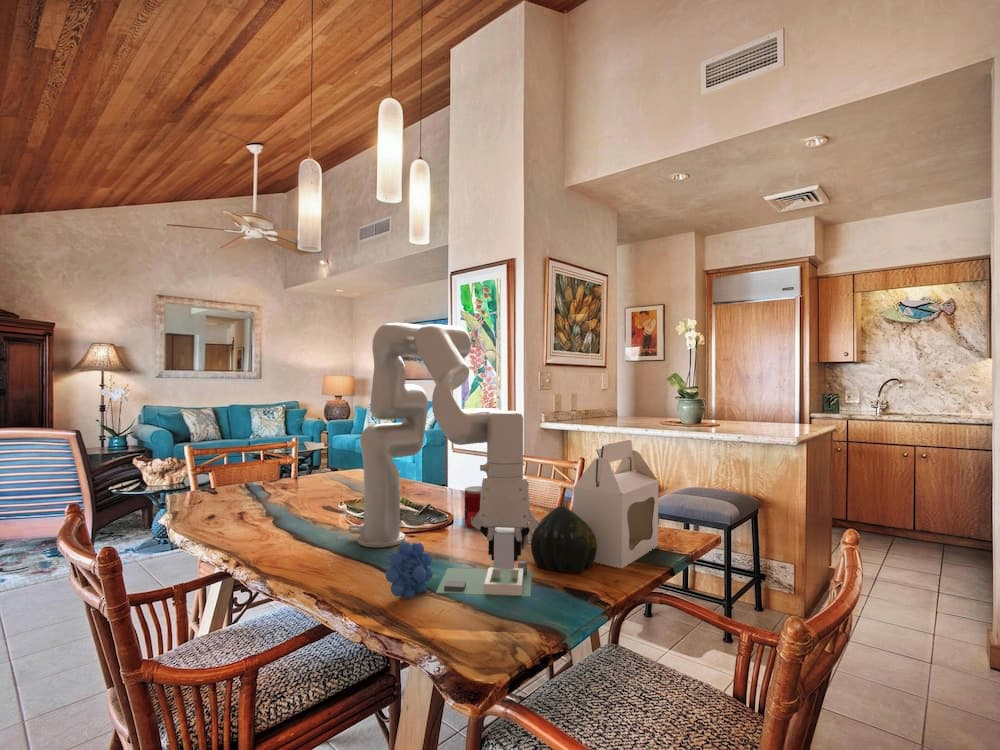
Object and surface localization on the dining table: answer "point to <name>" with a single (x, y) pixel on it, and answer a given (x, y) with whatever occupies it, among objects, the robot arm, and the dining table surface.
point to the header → (503, 587)
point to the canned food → (472, 504)
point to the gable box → (619, 505)
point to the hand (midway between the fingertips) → (504, 557)
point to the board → (480, 581)
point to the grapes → (409, 570)
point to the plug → (504, 548)
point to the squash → (563, 542)
